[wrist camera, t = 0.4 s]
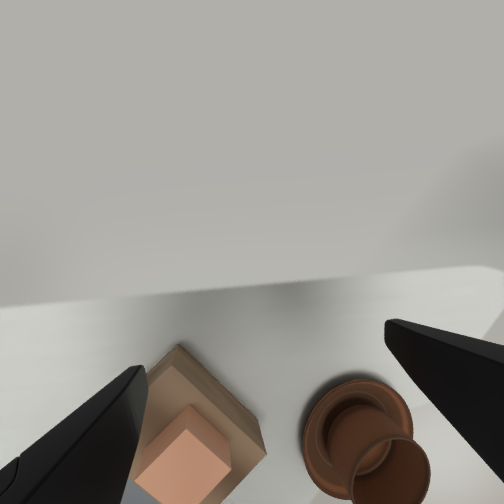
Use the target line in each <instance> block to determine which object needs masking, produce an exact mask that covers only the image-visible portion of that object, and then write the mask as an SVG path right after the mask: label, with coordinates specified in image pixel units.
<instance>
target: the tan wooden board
mask: <svg viewBox="0 0 504 504" xmlns="http://www.w3.org/2000/svg"><path fill="white" fill-rule="evenodd" d="M146 377H147V381H148V387H149V391H148V397H147V402H146V408H145V413H144V418H143V423H142V429H141V434H140V438H139V442H138V446H137V450H136V453H135V457H134V460H133V463H132V467H131V470H130V473H129V477H128V478H129V479H130V480H131V481H132V482H134V483H135V484H136V485H137V486H139V487H140V488H141V489H142V490H143V491H145V492H146V493H147V494H148V495H150V496H151V497H152V498H153V499H154V500H156V501H157V502H158V503H159V504H162V503H160V502H159V501H158V500H157V499H156V498H154V497H153V496H152V495H151V494H149V493H148V492H147V491H146V490H145V489H143V488H142V487H141V486H140V485H138V484H137V483H136V482H135V481H134V480H135V477H136V474H137V471H138V468H139V464H140V461H141V458H142V455H143V452H144V449H145V448H146V447H147V446H148V445H149V444H150V443H151V442H152V441H153V440H154V439H155V438H156V437H157V436H158V435H159V434H160V433H161V432H162V431H163V430H164V429H165V428H166V427H167V426H168V425H169V424H170V423H171V422H172V421H173V420H174V419H175V418H176V417H177V416H178V415H179V414H180V413H181V412H182V411H183V410H184V409H185V408H186V407H187V406H188V405H190V406H191V407H192V408H194V409H195V410H196V411H197V412H198V413H199V414H200V415H201V416H202V417H203V418H204V419H205V420H207V421H208V422H209V423H210V424H211V425H212V426H213V427H214V428H215V429H216V430H217V431H219V432H220V433H221V434H222V435H223V436H224V437H225V438H226V439H227V440H228V441H229V449H230V459H231V471H230V472H229V473H228V474H227V475H226V476H225V477H224V478H223V479H222V480H221V481H220V482H219V483H218V484H217V485H216V486H215V487H214V489H213V490H212V491H211V492H210V493H209V494H208V495H207V496H206V497H205V498H204V499H203V500H202V501H201V502H200V503H199V504H220V503H221V502H222V501H223V500H224V499H225V498H226V497H227V496H228V495H229V494H230V493H231V492H232V491H233V489H234V488H235V487H236V486H237V485H238V484H239V483H240V482H241V481H242V480H243V479H244V478H245V477H246V476H247V475H248V473H249V472H250V471H251V470H252V469H253V468H254V467H255V466H256V465H257V464H258V463H259V462H260V461H261V460H262V459H263V457H264V456H265V455H266V454H267V453H266V449H265V446H264V442H263V438H262V435H261V431H260V427H259V424H258V420H257V419H256V418H255V417H254V416H253V415H252V414H251V413H250V412H249V411H248V410H247V409H246V408H245V407H244V406H243V405H242V404H241V403H240V402H239V401H238V400H237V399H236V398H235V397H233V396H232V395H231V394H230V393H229V392H228V391H227V390H226V389H225V388H224V387H223V386H222V385H221V384H220V383H219V382H218V381H217V380H216V379H215V378H214V377H213V376H212V375H211V374H210V373H209V372H207V371H206V370H205V369H204V368H203V367H202V366H201V365H200V364H199V363H198V362H197V361H196V360H195V359H194V358H193V357H192V356H191V355H190V354H189V353H188V352H187V351H186V350H185V349H184V348H182V347H181V346H180V345H179V344H178V345H177V346H175V347H174V348H173V349H172V350H171V351H170V352H169V353H168V354H167V355H166V356H165V357H164V358H163V359H162V360H161V361H160V362H159V363H158V364H157V365H155V366H154V367H153V368H152V369H151V370H150V371H149V372H148V373H147V374H146Z"/></svg>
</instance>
